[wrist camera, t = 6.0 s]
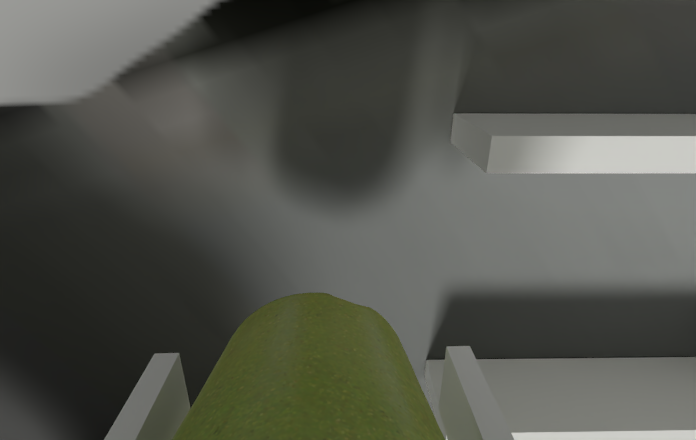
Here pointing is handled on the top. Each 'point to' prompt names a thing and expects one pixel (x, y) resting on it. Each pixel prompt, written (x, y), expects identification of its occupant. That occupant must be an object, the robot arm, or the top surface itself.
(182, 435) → the plant pot
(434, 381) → the bay
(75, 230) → the top surface
